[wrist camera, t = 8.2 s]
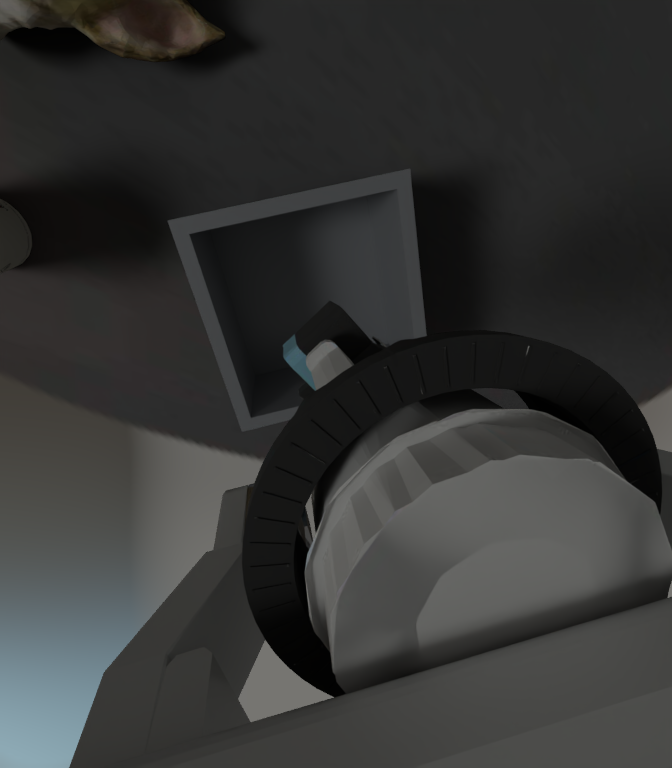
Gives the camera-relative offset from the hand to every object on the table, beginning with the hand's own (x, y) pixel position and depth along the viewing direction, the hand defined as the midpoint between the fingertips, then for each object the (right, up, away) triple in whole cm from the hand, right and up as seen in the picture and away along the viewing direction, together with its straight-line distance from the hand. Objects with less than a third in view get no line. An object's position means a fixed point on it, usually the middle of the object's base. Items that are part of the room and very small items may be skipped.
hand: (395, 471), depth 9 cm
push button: (0, +2, +5) cm, 5 cm away
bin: (-4, +9, +21) cm, 23 cm away
